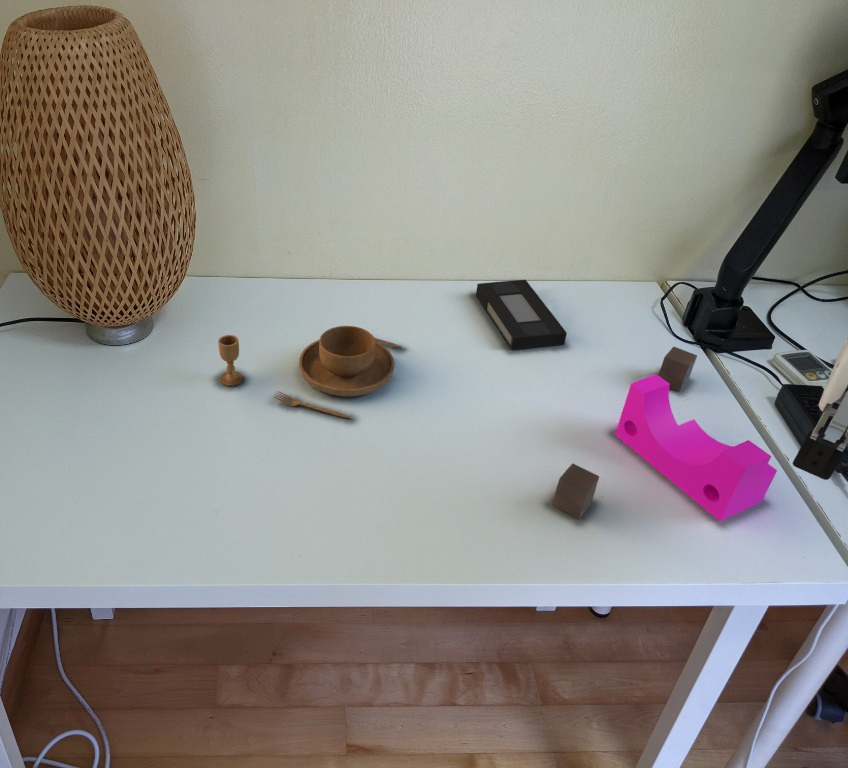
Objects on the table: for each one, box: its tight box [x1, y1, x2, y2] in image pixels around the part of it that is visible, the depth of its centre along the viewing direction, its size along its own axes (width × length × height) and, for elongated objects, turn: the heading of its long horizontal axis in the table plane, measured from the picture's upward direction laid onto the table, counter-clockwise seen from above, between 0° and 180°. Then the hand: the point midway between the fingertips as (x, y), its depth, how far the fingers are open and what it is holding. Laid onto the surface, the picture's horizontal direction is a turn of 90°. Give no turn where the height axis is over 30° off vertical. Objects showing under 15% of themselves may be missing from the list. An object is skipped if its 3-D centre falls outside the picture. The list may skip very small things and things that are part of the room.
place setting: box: [217, 325, 402, 420], centre depth 97 cm, size 18×20×6 cm
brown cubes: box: [551, 346, 698, 520], centre depth 88 cm, size 3×31×4 cm, turn 140°
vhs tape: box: [475, 279, 568, 351], centre depth 108 cm, size 8×14×2 cm, turn 11°
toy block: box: [614, 373, 778, 522], centre depth 83 cm, size 15×6×8 cm, turn 28°
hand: (823, 444), depth 75 cm, fingers open, 9 cm apart
